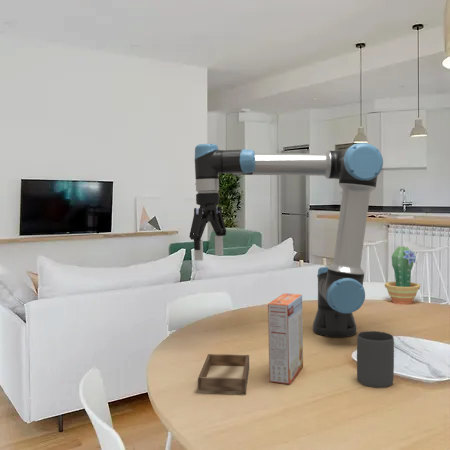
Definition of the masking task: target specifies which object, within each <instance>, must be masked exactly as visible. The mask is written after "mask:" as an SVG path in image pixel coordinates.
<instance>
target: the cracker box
mask: <svg viewBox="0 0 450 450" xmlns="http://www.w3.org/2000/svg"><path fill="white" fill-rule="evenodd" d="M267 323H268V324H267V325H268V327H267V329H268V332H267V333H268V369H269V371H268V372H269V373H268V374H269V375H268V377H269V383H277V384H285V385H290V384H291V383H292V382H293V381H294V379H296V377H297V376H298V375H299V373H300V372H301V370H302V368H304V338H303V333H304V332H303V331H304V330H303V325H304V324H303V294H299V293H286V292H285V293H282V294H280V295H279V296H278V297H276V298H274V299H273V300H272V301H270V302H269V303H267Z"/></svg>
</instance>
